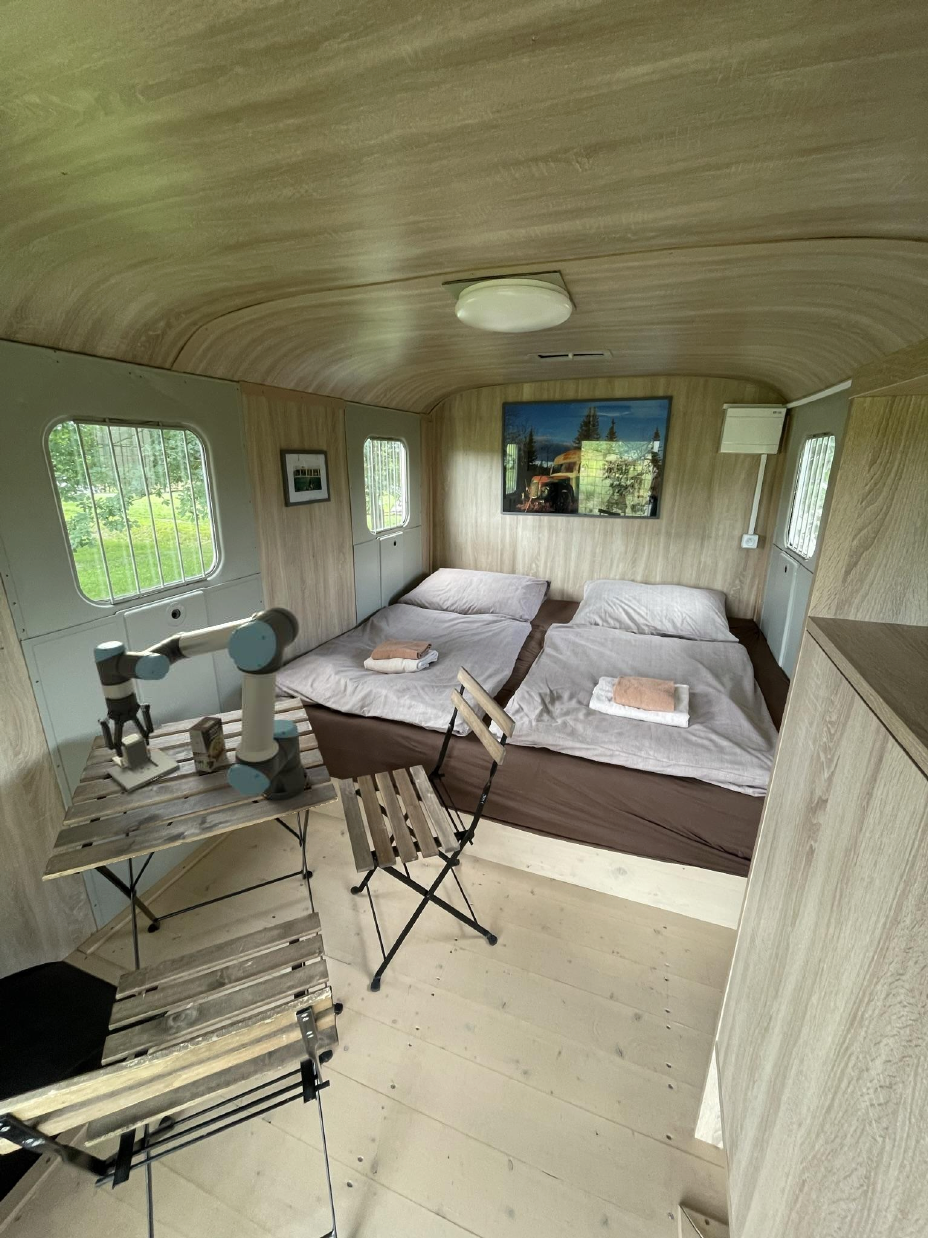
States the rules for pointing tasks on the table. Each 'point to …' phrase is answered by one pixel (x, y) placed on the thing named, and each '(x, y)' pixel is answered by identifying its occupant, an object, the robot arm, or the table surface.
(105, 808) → the table surface
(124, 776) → the socket plate
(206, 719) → the coffee box
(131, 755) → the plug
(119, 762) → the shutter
